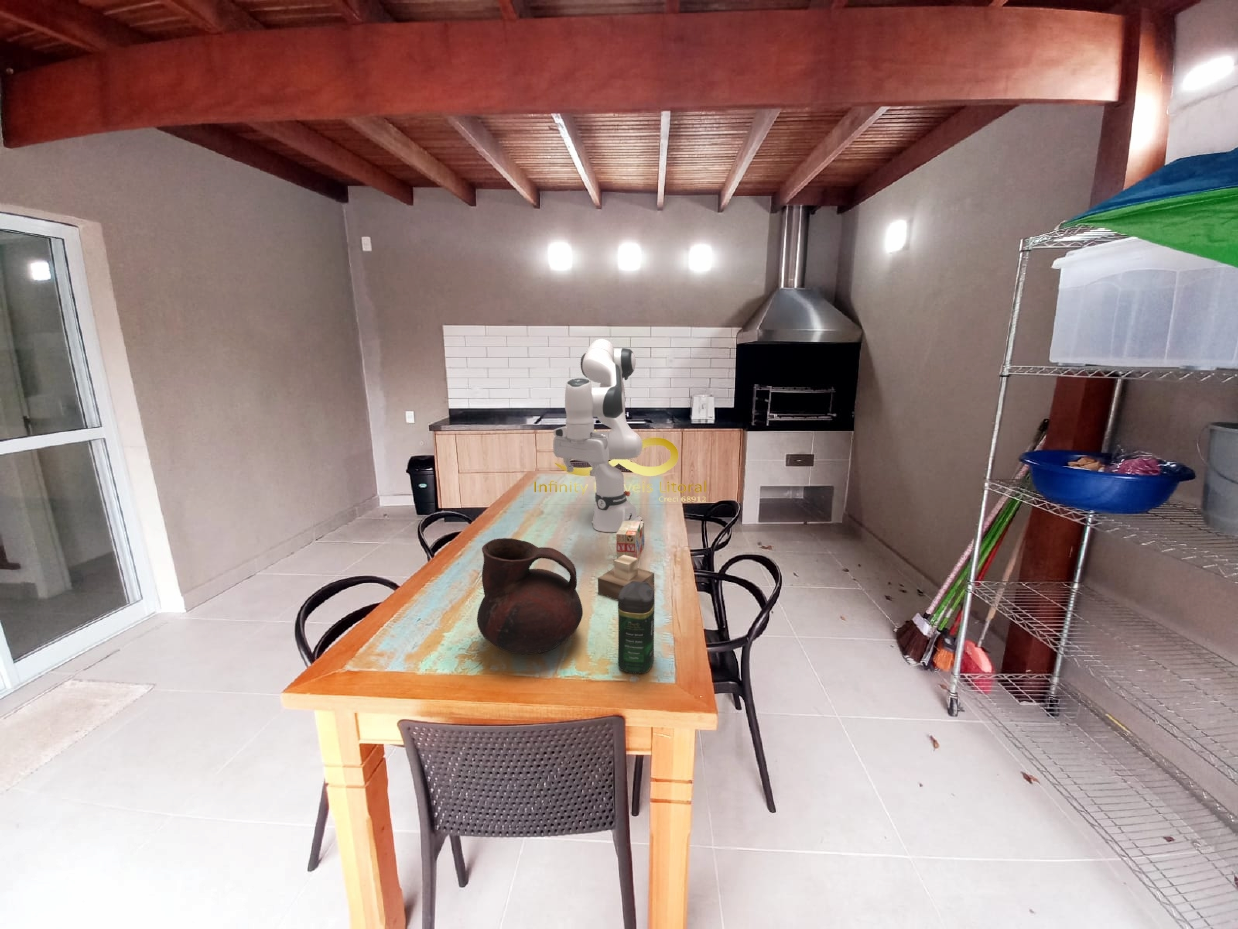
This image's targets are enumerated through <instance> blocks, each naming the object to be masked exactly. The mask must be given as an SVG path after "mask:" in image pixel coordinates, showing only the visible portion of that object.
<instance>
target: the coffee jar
mask: <svg viewBox="0 0 1238 929" xmlns="http://www.w3.org/2000/svg"><path fill="white" fill-rule="evenodd" d="M617 614H618V618H617V619H618V620H617V621H618V622H617V623H618V624H617V625H618V629H617V630H618V635H617V636H618V637H617V638H618V639H617V640H618V644H617V645H618V646H617V648H618V649H617V651H618V652H617V654H618V655H617V665H618V667H619V669H620V670H621V671H624V672H626V673H629V674H635V675H636V674H637V675H639V674H645V673H647V672H649V671H650V669H651V667H652V665H653V662H654V658H655V588H654V589H653V587H652V586H651V585H650V584H649V583H646V582H638V581H631V582H630V583H628V584H626V585H625V586H624V587H623V588H622V590H621V592H620V594H619V596H618V600H617Z"/></svg>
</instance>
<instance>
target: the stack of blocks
mask: <svg viewBox="0 0 1238 929" xmlns="http://www.w3.org/2000/svg"><path fill="white" fill-rule="evenodd" d="M615 538H616V545H615V546H616V547H615V548H616V559H618V558H619V557H621V556H623V555H626V556H630V557H634V558H637V559H638V562H639V560H640V557H641V554H642V551H643V549H644V547H645V522H644V521H643V520H642V521H623V522H622V525H621V527H620V528H619V530H618V532H616V537H615Z"/></svg>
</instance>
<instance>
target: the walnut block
mask: <svg viewBox="0 0 1238 929" xmlns="http://www.w3.org/2000/svg"><path fill="white" fill-rule="evenodd" d="M631 581H638V582H646V583H649V584H650V585H651V586H652V587H653V589H654V590H655V572H652V571H650V570H646V569H642V568H639V567H638V575H636V576H635V577H633V578H632V579H630V580H629V581H628V580H624V579H621V578H618V577H614V567H613V568H611V569H610V570H608V571H607V572H605V573H604V574H601V575H600V576H599V577H597V593H598V595H601V596H604V597H607V598H610V599H613V600H616V601H618V596H619V594H620V592H621V590H622V588H623V587H624V586H625V585H626V584H628V583H630V582H631Z"/></svg>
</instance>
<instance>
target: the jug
mask: <svg viewBox="0 0 1238 929" xmlns="http://www.w3.org/2000/svg"><path fill="white" fill-rule="evenodd" d="M481 551H482V555H483V564H482V569H481V570H482V572H481V584H482V588H483V594H484V596H483V598H482V600H481V602H480V604H479V606H478V610H477V616H476V618H477V619H476V623H477V628H478V630H479V632H480V634H481V635H482V636H483V638H484V639H485V640H486V641H488V642H489V643H490V644H492V645H494V646H495V647H497V648H499V649H501V650H503V651H506V652H508V653H512V654H519V655H520V654H521V655H533V654H534V655H535V654H539V653H540V654H541V653H544V652H549V651H550V650H553V649H555V648H557V647H559V646H560V645H562V644H564V643H565V642H566V641H568V639H570V638H571V636H572V635H573V634H574V633H575V632H576V630H577V629H578V628H579V625H580V624H581V623H582V622H581V621H582V619H583V614H584V613H583V605H582V602H581V601H582V600H581V598H580V595H579V593H578V591H577V589H576V588H577V586H578V578H577V569H576V566H575V564H574V563H573V561H572V560H571V559H570V558H569V557H567V556H566V555H565V554H564V553H563V552H561V551H560V550H557V549H555V548H553V547H544V546H543V547H542V546H541V547H538V546H536V545H535V544H533V543H531V542H529V541H526V540H520V539H517V538H510V537H509V538H508V537H502V538H494V539H491V540H490V541H488V542H485V544H484V545H483V546H482V548H481ZM540 559H546V560H551V561H553V562H555V563H557V564H559V566H561V567H562V568H563V569H564V570H566V572H568V574H569V580H568V579H566V578H565V577H564V576H562V575H561V574H559V573H557V572H554V571H551V570H548V569H544V568H531V567H532V565H533V563H534V562H535V561H537V560H540Z"/></svg>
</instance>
